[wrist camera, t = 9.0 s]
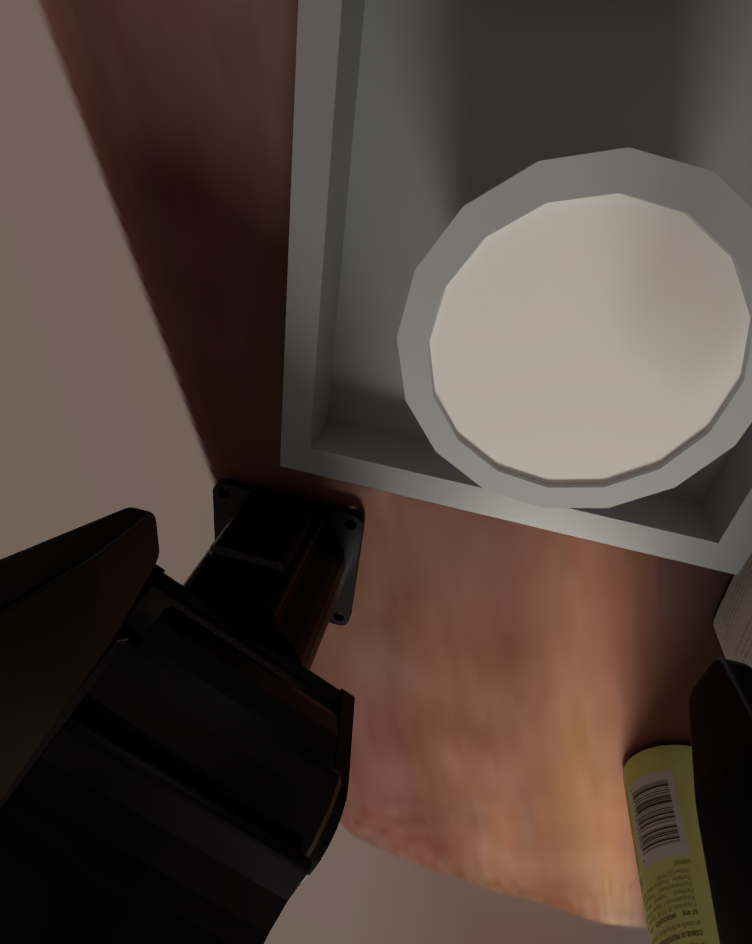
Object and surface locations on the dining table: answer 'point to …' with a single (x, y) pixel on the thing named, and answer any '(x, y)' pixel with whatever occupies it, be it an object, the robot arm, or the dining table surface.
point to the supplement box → (737, 617)
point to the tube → (669, 846)
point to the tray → (463, 180)
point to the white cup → (585, 330)
